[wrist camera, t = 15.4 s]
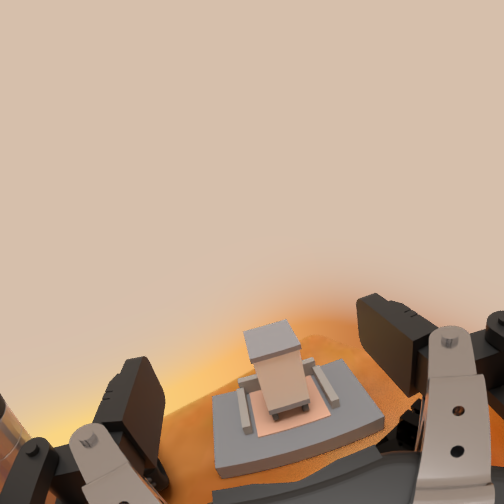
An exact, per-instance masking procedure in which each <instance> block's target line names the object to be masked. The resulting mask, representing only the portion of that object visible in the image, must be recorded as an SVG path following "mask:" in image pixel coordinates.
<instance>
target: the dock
mask: <svg viewBox="0 0 504 504" xmlns="http://www.w3.org/2000/svg"><path fill="white" fill-rule="evenodd" d="M302 364H303V369H304V374H305V379H306V384H307V389H308V394H309V399H310V403H309V404H308V405H309V410H308V411H305V412H303V409H302V407H301V406H299V407H296V408H293V409H290V410H286V411H283V412H280V413H278V416H279V419H278V420H275V421H274V420H273V417H272V415H270V414H269V411H268V408H267V405H266V402H265V399H264V396H263V393H262V390H261V387H260V383H259V380H258V377H257V374H254V375H251V376H247V377H243V378H239V379H238V384H239V387H240V388H239V389H237V391H234V392H229V393H225V394H221V395H216V396H212V401H213V431H214V453H215V469H216V470H217V472H218V473H219V475H220V476H221V478H222V479H224V478H230V477H235V476H241V475H246V474H251V473H255V472H260V471H264V470H268V469H272V468H276V467H280V466H284V465H287V464H291V463H295V462H298V461H301V460H305V459H308V458H311V457H314V456H317V455H320V454H323V453H326V452H329V451H331V450H334V449H337V448H340V447H342V446H345V445H347V444H350V443H352V442H355V441H357V440H360V439H362V438H365V437H367V436H369V435H371V434H374V433H376V432H378V431H380V430H382V429H384V418H385V416H384V415H383V413H382V412H381V411H380V409H379V408H378V407H377V405H376V404H375V403H374V401H373V400H372V399H371V397H370V396H369V394H368V393H367V392H366V390H365V389H364V388H363V386H362V385H361V384H360V382H359V381H358V380H357V378H356V377H355V376H354V374H353V373H352V372H351V370H350V369H349V368H348V366H347V365H346V364H345V362H344V361H343V359H339V360H336V361H334V362H331V363H328V364H325V365H322V366H319V365H317V366H315V360H314V359H313V357H311V358H308V359H305V360H302Z"/></svg>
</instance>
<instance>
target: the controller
mask: <svg viewBox="0 0 504 504" xmlns="http://www.w3.org/2000/svg"><path fill="white" fill-rule="evenodd" d="M143 476H144V477H145V478H146V479H147V480H148V482H149V483H150V484H151V485H152V486H153V488H154V489H155V490H156V491H157V492H159V491H161V490H164V489H165V488H166V487H167V486H168V484H169V480H168V477H167V474H166V472H165V470H164V468H163V466H162V464H161V462H160V460H159V459H157V467H156V468H148V469H144V473H143Z"/></svg>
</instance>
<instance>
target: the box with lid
mask: <svg viewBox="0 0 504 504" xmlns="http://www.w3.org/2000/svg"><path fill="white" fill-rule="evenodd" d="M244 336H245V341H246V345H247V350H248V353H249V358H250V362H251V364H254V368H255V371H256V374H257V377H258V380H259V383H260V387H261V390H262V393H263V396H264V399H265V402H266V405H267V408H268V411H269V414H270V415H272V417H273V420H274V421H275V420H278V419H279V416H278V413H280V412H283V411H286V410H290V409H293V408H296V407H299V406H301V407H302V409H303V412H305V411H308V410H309V405H308V404H309V403H310V399H309V394H308V389H307V384H306V379H305V374H304V369H303V364H302V359H301V355H300V349H301V344H300V342H299V341H298V339H297V337H296V335H295V334H294V332H293V330H292V328H291V327H290V325H289V323H288V322H287V320H286V319H285V320H282V321H279V322H276V323H272V324H268V325H265V326H262V327H258V328H255V329H251V330H247V331H244Z"/></svg>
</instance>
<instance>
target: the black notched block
mask: <svg viewBox="0 0 504 504" xmlns="http://www.w3.org/2000/svg"><path fill="white" fill-rule="evenodd" d="M421 402H422V400H421V399H419V398H418V399H417V400H416V401H415V402H414V404H413V405H412V406H411V409H413V410H412V411H411V410H409V409H408V410H407V411H406V412H405V413H404V414H403V415H402V416H401V417H400V420H399V423H398V424H397V426H396V427H395V428H394V429H393V430H392V431H391V432H390V433H388V434H387V435H386V436H385V437H384V438H383V439H382V440H381V441H380V442H379V443H378V444H376V445H375V446H376V448H377V449H378V451H379V452H380V454H381V453H386V452H393V451H414V450H415V445H416V440H417V433H418V426H419V419H420V411H421Z"/></svg>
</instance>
